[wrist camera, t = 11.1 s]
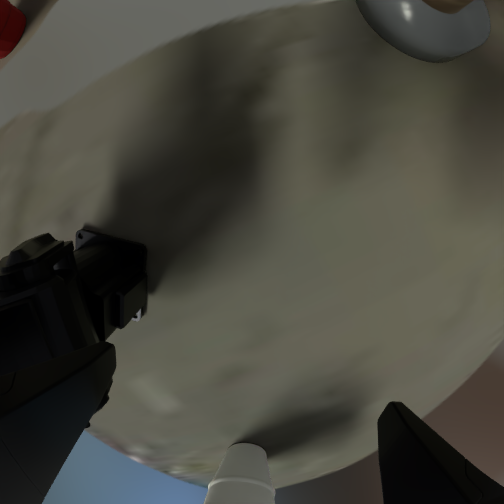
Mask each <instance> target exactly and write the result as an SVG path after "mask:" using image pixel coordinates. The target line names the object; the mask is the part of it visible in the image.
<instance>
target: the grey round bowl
mask: <svg viewBox="0 0 504 504" xmlns="http://www.w3.org/2000/svg"><path fill="white" fill-rule="evenodd" d="M356 3H357V5H358V8H359V10H360V12H361V13H362V15H363V17H364V18H365V20H366V21H367V22H368V23H369V25H370V26H371V27H372V28H373V29H374V30H375V31H376V32H377V33H378V34H379V35H380V36H381V37H382V38H383V39H384V40H386V41H387V42H388V43H389V44H391V45H392V46H394V47H395V48H397V49H398V50H400V51H402V52H403V53H405V54H407V55H409V56H411V57H414V58H416V59H419V60H423V61H426V62H432V63H443V62H448V61H451V60H453V59H455V58H457V57H459V56H461V55H463V54H464V53H466V52H468V51H470V50H472V49H474V48H476V47H478V46H480V45H482V44H483V43H484V42H485V41H486V40H487V38H488V36H489V33H490V18H489V14H488V10H487V8H486V5H485V3H484V1H483V0H473V1H472V2H471V3H469V4H468V5H467V6H465V7H464V8H463V9H461V10H460V11H459V12H457V13H454V14H447V13H443V12H440V11H438V10H436V9H434V8H432V7H430V6H429V5H427V4H426V3H425V2H423V1H422V0H356Z"/></svg>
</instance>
